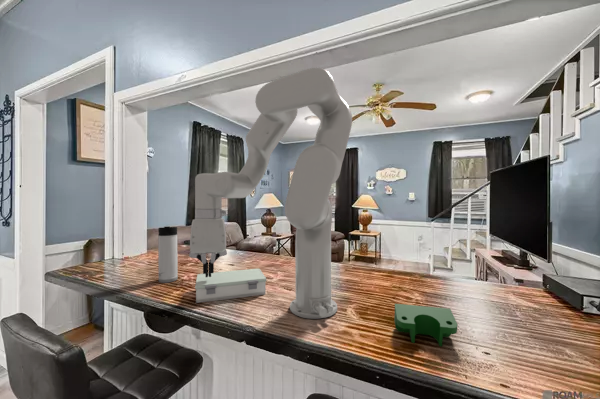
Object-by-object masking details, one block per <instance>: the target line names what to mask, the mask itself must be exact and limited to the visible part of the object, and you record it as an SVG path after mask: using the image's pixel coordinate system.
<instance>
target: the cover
mask: <svg viewBox="0 0 600 399" xmlns="http://www.w3.org/2000/svg"><path fill="white" fill-rule="evenodd" d="M258 282H267V277H266V275H264V273H263V271H262V270H261V269H260V268H250V269H239V270H229V271H227V270H226V271H218V272H217V271H214V273H211V277H209V272H208V277H206V274H203V273H197V275H196V280H195V287H194V288H195V290H196V289H200V288H205V289H211V288H216V287H219V286H228V285H237V284H246V283H248V284H256V283H258Z"/></svg>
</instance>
